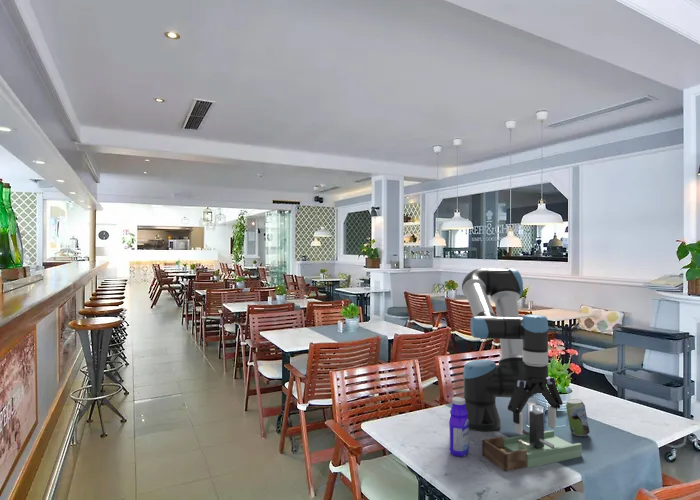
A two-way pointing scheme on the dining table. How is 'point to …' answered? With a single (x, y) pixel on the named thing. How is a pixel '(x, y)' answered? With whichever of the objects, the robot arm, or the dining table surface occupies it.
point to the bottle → (459, 428)
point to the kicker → (535, 432)
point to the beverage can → (577, 417)
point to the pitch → (545, 449)
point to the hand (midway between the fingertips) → (535, 430)
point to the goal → (503, 454)
